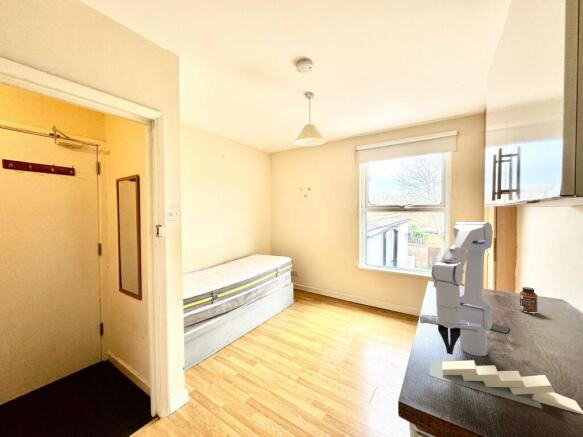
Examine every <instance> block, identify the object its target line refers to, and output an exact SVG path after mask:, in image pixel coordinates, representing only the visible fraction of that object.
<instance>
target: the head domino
mask: <svg viewBox="0 0 583 437" xmlns="http://www.w3.org/2000/svg"><path fill="white" fill-rule="evenodd" d="M441 362H442V370H443V373H444V375H478V372H477V367H476V366H477V364H476V362H475V360H474V359H472V360H471V359H470V360H451V361H441Z"/></svg>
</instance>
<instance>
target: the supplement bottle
mask: <svg viewBox="0 0 583 437" xmlns="http://www.w3.org/2000/svg"><path fill="white" fill-rule="evenodd" d="M521 288H522V289H521V290H522V291H520V292H519V310H520V309H521V310H523V311H527V312H537V311H539V309H538V295H537V293H536V292H535V288H533V287H527V286H523V287H521ZM521 310H520V311H521ZM523 311H522V312H523Z"/></svg>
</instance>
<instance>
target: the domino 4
mask: <svg viewBox="0 0 583 437" xmlns="http://www.w3.org/2000/svg"><path fill="white" fill-rule="evenodd" d="M530 395H531V397H532V399H533V400H536V401H538V402H540V404H545V405H547V406H552V407H555V408H559V409H562V410H566V411H569V412H574V413H576V414H580V415H583V410H582V408H581V407H580V405H579V403H578V402H577V401H576V400H575V399H572V398H569V397H568V396H564V395H561V394H559V393H556V392H552V393H534V394H530Z"/></svg>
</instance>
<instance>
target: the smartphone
mask: <svg viewBox="0 0 583 437" xmlns="http://www.w3.org/2000/svg"><path fill="white" fill-rule="evenodd" d="M488 331H492V332H496V333H500V334H504V335H508V334H509V333H510V331H511V328H510V327H508V326H504V325H500V324H497V323H496V324H495V323H494V322H493V323H492V327H491V329H489V330H488Z"/></svg>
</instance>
